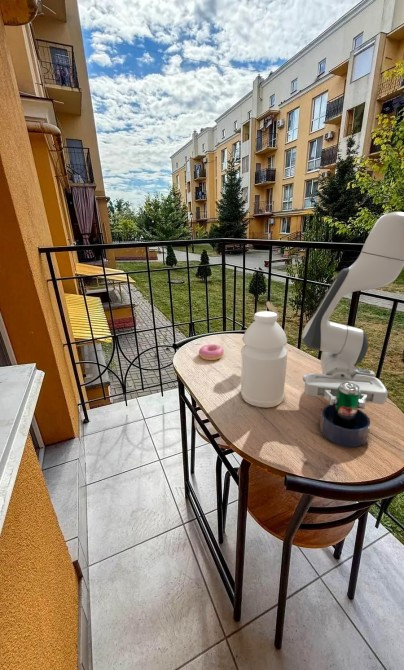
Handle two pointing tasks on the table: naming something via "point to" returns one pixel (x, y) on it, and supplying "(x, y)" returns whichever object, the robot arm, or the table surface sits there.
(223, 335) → the table surface
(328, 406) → the bowl
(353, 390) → the soda can
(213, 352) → the doughnut
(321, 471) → the table surface
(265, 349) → the bottle
